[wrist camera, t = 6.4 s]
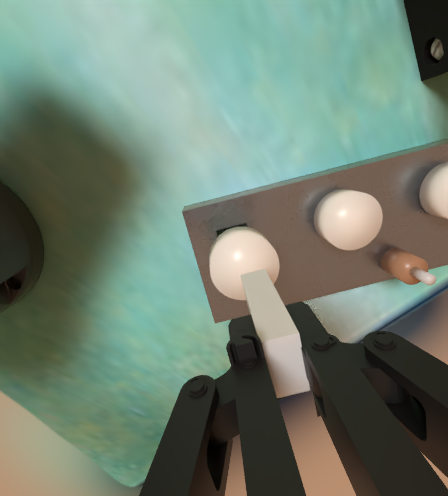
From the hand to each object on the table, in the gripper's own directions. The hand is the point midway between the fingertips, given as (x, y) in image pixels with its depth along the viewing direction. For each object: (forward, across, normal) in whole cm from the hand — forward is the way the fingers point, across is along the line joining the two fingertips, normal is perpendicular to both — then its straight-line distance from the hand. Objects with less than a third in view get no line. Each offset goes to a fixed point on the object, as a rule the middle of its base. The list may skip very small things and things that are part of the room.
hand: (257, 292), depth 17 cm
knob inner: (+9, 0, 0) cm, 9 cm away
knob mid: (+13, +10, 0) cm, 16 cm away
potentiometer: (+11, +15, -6) cm, 19 cm away
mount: (+14, +10, -2) cm, 17 cm away
